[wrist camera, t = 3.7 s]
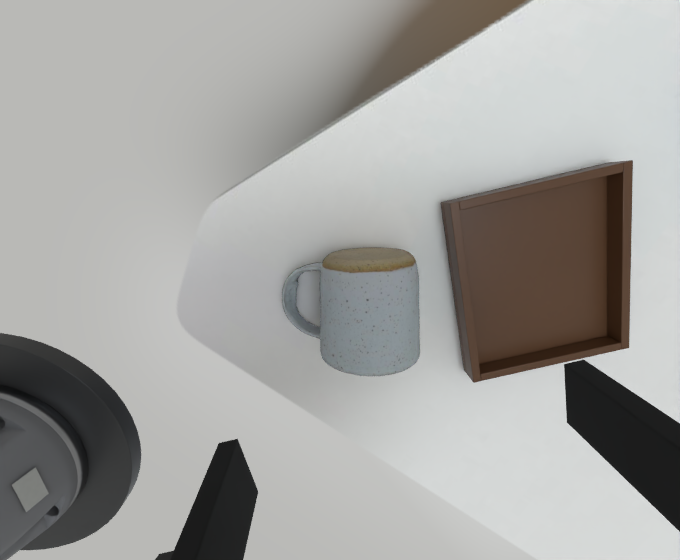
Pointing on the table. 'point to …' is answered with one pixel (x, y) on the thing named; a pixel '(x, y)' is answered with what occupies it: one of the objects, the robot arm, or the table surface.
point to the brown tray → (542, 270)
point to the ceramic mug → (363, 310)
